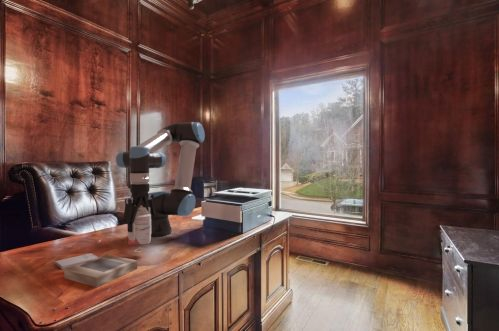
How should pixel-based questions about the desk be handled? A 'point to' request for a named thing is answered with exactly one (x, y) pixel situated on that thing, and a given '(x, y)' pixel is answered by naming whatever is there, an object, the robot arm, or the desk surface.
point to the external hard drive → (75, 260)
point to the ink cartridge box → (142, 227)
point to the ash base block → (100, 270)
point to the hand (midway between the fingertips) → (140, 236)
